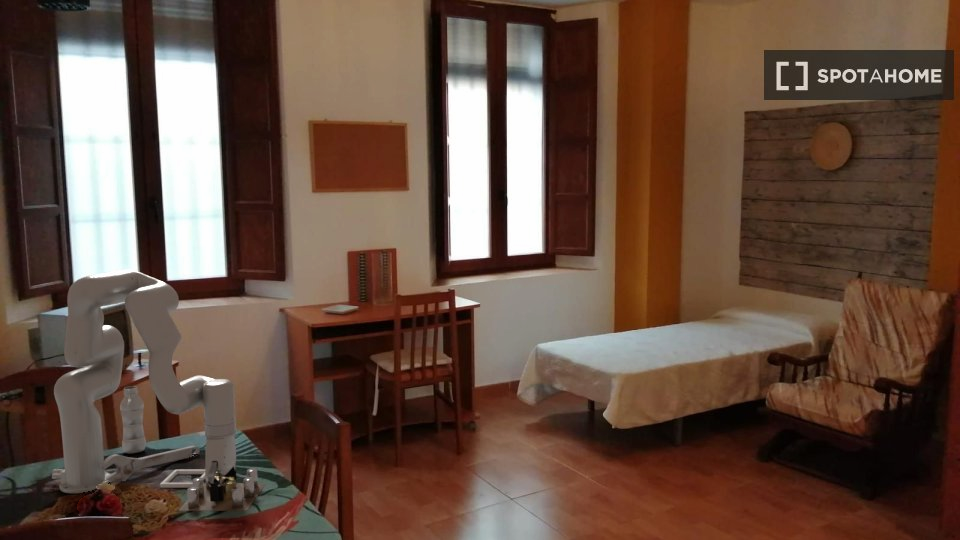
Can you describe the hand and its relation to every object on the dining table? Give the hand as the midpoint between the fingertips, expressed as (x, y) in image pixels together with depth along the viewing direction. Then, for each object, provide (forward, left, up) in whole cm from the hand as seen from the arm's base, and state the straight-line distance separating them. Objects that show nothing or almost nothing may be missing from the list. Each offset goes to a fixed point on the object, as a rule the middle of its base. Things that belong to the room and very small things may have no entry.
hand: (223, 492), depth 194 cm
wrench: (-27, +20, -2) cm, 34 cm away
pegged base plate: (0, 0, -1) cm, 1 cm away
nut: (0, 0, -1) cm, 1 cm away
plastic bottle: (-39, +34, -2) cm, 52 cm away
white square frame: (-14, +11, -2) cm, 18 cm away
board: (0, 0, -2) cm, 2 cm away
